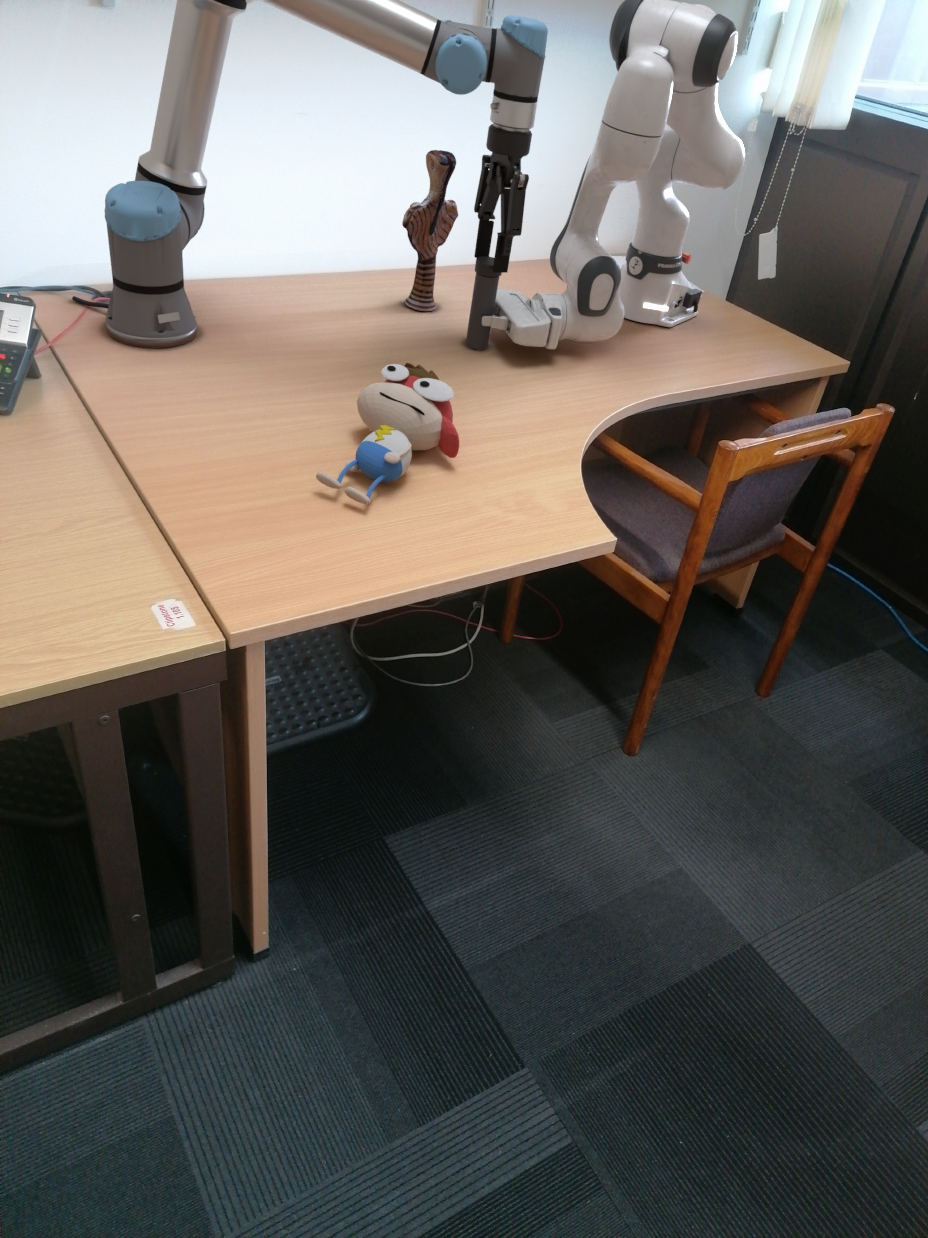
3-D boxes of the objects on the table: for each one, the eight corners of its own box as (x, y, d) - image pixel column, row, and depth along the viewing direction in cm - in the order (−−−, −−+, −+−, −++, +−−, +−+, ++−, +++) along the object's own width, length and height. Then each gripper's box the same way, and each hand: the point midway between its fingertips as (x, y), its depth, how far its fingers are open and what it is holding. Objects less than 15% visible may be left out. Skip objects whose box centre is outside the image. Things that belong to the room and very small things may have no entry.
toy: (278, 428, 121) (396, 343, 140) (277, 485, 128) (389, 398, 148) (391, 486, 117) (497, 391, 136) (384, 542, 124) (485, 444, 143)
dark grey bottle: (487, 351, 173) (501, 268, 163) (465, 348, 173) (477, 265, 163) (487, 342, 177) (500, 261, 167) (465, 339, 176) (477, 257, 166)
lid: (501, 278, 164) (503, 266, 163) (474, 274, 164) (476, 262, 162) (501, 269, 168) (502, 258, 167) (474, 265, 168) (476, 254, 166)
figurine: (429, 292, 193) (447, 140, 175) (457, 304, 190) (478, 150, 172) (386, 306, 183) (400, 146, 165) (414, 318, 180) (432, 157, 162)
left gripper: (466, 111, 156) (450, 246, 170) (518, 140, 142) (496, 283, 157) (504, 114, 159) (485, 246, 173) (558, 142, 145) (533, 283, 160)
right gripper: (529, 281, 180) (464, 278, 176) (565, 320, 165) (495, 317, 161) (523, 312, 184) (460, 309, 180) (558, 353, 169) (489, 351, 165)
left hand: (490, 264), depth 165 cm, fingers open, 7 cm apart
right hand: (477, 313), depth 170 cm, fingers closed on dark grey bottle, 4 cm apart
